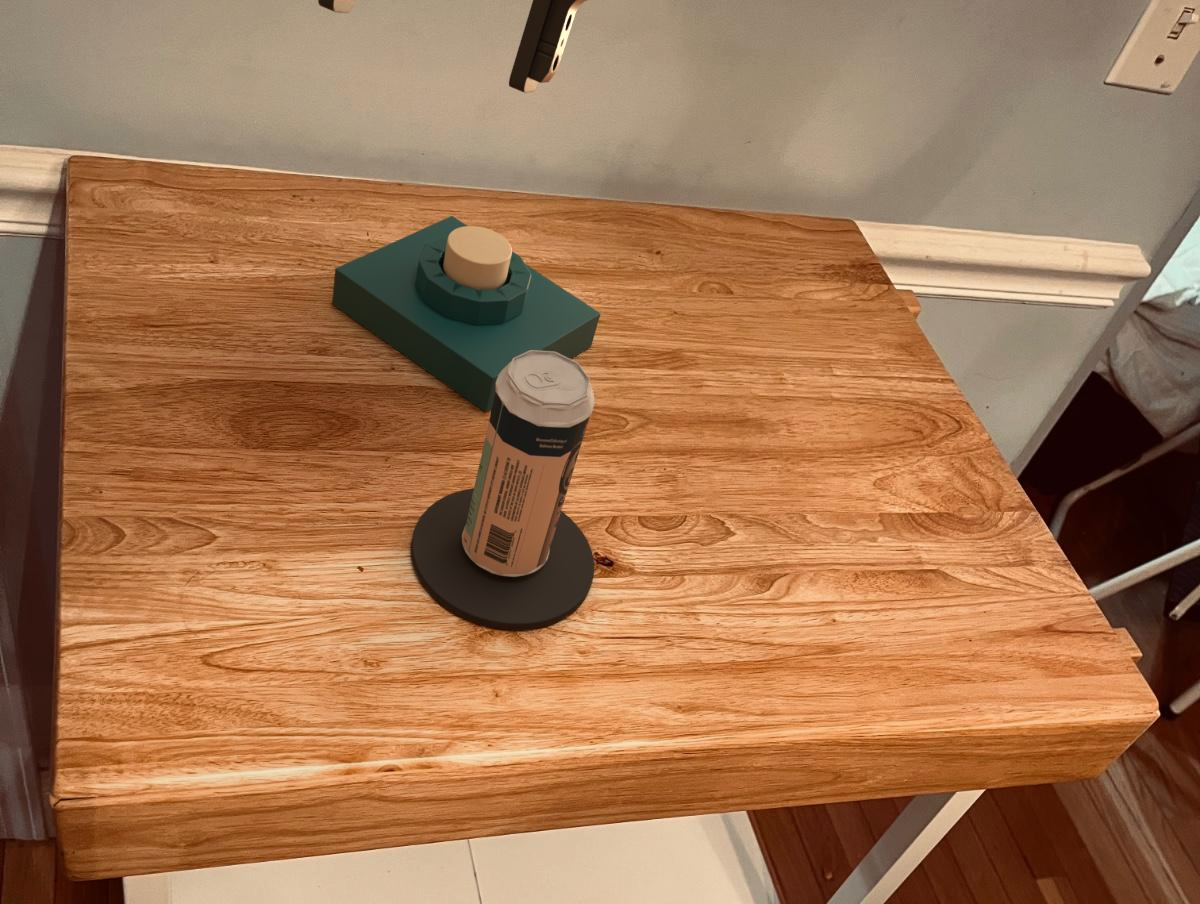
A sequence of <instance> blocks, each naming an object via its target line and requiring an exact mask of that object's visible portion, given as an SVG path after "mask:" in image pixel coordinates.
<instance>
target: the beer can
mask: <svg viewBox="0 0 1200 904" xmlns="http://www.w3.org/2000/svg"><path fill="white" fill-rule="evenodd" d="M591 384H592V383H591V378H590V377H589V375H588V373H586V371H585V370H584V368H583V367H582V366H581V365H580V363H579V362H578V361H575V360H573V359H569V358H567V357H565V356H563V355H561V354H559V353H557V352H551V351H537V350H530V351H528V352H525V353H523V354H521V355H519V356H517V357H515V358H513V359H512V361H511V362H510V363H509V364H508V365H507V366H506V367H505V368H504V369H503V370H502V371H501V372H500V374H499V375H498V378H497V380H496V392H495V397H494V401H493V406H492V409H491V411H490V416H489V419H488V423H487V429H486V432H485V433H486V434H485V438H484V442H483V446H482V450H481V455H480V460H479V463H478V464H479V465H478V469H477V474H476V478H475V482H474V486H473V488H474V491H473V495H472V500H471V504H470V509H469V513H468V518H467V522H466V526H465V528H464V530H463V533H462V544H463V547H464V549H465V552H466V553H467V555H468V556H469V558H470V559H471V560H472V561H473V562H474V563H475V564H477V565H478V566H479V567H481V568H483V569H485V570H487V571H489V572H490V573H493V574H496V575H500V576H510V577H517V576H524V575H528V574H530V573H533V572H535V571H537V570H538V569H540V568H541V567H542V566H543V565H544V564H545V562H546V561H547V559H548V555H549V549H550V546H551V543H552V539H553V536H554V533H555V529H556V526H557V523H558V520H559V516H560V513H561V511H562V510H563V506H564V503H565V500H566V497H567V494H568V489H569V487H570V483H571V480H572V477H573V473H574V470H575V467H576V464H577V461H578V457H579V454H580V450H581V447H582V443H583V442H584V437H585V434H586V431H587V428H588V424H589V420H590V418H591V415H592V413H593V411H594V408H595V403H596V401H595V394H594V391H593V388H592V385H591Z"/></svg>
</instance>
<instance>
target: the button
mask: <svg viewBox="0 0 1200 904" xmlns="http://www.w3.org/2000/svg"><path fill="white" fill-rule="evenodd" d="M512 251H513V248H512V246H511V243H510V242H509V241H508V239H506V238H505V236H503V235H502V234H500V233H499V232H497V231H495V230H492V229H489V228H486V227H483V226H475V225H467V226H465V227H460V228H457V229H455V230H453V231H452V232H451V233H450V234H449V236H448V239H447V245H446V251H445V257H444V263H443V269H444V272H445V274H446V276H447V277H449V278H450V279H452V280H453V281H455V282H456V283H458V284H459V285H462V286H466V287H470V288H473V289H477V290H488V289H498V288H500V287H501V286H502V285H503V284H504V283H505V281H506V278H507V273H508V269H509V264H510V259H511V255H512Z"/></svg>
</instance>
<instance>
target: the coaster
mask: <svg viewBox="0 0 1200 904" xmlns="http://www.w3.org/2000/svg"><path fill="white" fill-rule="evenodd" d="M473 491H474V487H472V488H467V489H463V490H459V491H456V492H452V493H450V494H447V495H446V496H443V497H442V498H439V499H438V500H436V501H435V502H434V503H432V504H431V505H430V506H429V507H428V508H427V509H426V510H425V511H424V512H423V513H422V514H421V516H420V517H419V519H418V520H417V522H416V524H415V527H414V529H413V533H412V538H411V545H410V555H411V563H412V567H413V569H414V572H415V574H416V576H417V578H418V580H419V582H420V583H421V585H422V586H423V588H424V589H425V591H427V593H428V594H429V595H430V596H431V597H432V598H433V599H434V600H435V601H436V602H437V603H438V604H439V605H441V606H442V607H443V608H445V609H446V610H448V611H449V612H451V613H452V614H454V615H456V616H458V617H460V618H462V619H464V620H466V621H468V622H471V623H473V624H477V625H480V626H482V627H487V628H492V629H495V630H503V631H505V630H506V631H527V630H528V631H529V630H536V629H540V628H545V627H548V626H552V625H554V624H558V622H560V621H562V620H564V619H566V618H568V617H569V616H570V615H572V614H573V613H574V612H575V611H576V610H577V609H579V608H580V607H581V606H582V604H583V602H584V601H585V600H586V599H587V596H588V594H589V592H590V590H591V587H592V585H593V581H594V577H595V566H596V565H595V558H594V553H593V550H592V547H591V545H590V543H589V541H588V539H587V537H586V536H585V534H584V532H583V530H581V528H580V527H579V526H578V525H577V523H575V521H574V520H572V518H571V517H570V516H569V515H567V513H565V512H563V511H562V510H561V513H560V516H559V520H558V523H557V526H556V529H555V533H554V536H553V539H552V543H551V546H550V549H549V555H548V559H547V561H546V562H545V564H544V565H543V566H542V567H541V568H540V569H538V570H537V571H535V572H533V573H530V574H528V575H524V576H517V577H510V576H500V575H496V574H493V573H490V572H489V571H487V570H485V569H483V568H481V567H479V566H478V565H477V564H475V563H474V562H473V561H472V560H471V559H470V558H469V556H468V555H467V553H466V552H465V549H464V547H463V544H462V533H463V530H464V528H465V526H466V522H467V518H468V513H469V509H470V504H471V500H472V495H473Z"/></svg>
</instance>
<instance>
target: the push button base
mask: <svg viewBox="0 0 1200 904" xmlns="http://www.w3.org/2000/svg"><path fill="white" fill-rule="evenodd" d="M465 226H468V225H467V224H465V223H464V222H462V221H461V220H459V219H458V218H456V217H455V216H453V215H450V216H448V217H445V218H444V219H442V220H439V221H437V222H435V223H433V224H431V225H429V226H426V227H424V228H422V229H420V230H417V231H415V232H413V233H410V234H407V235H406V236H403V237H402V238H399V239H398V240H395V241H392V242H391V243H389V244H386V245H384V246H381V247H379V248H377V249H375V250H373V251H371V252H368V253H367V254H364V255H362V256H360V257H357V258H354V259H353V260H351V261H348V262H346V263H344V264H342V265H339V266H337V267H335V269H334V279H333V289H332V290H333V291H332V299H331V301H332V302H331V304H332V305H333V306H334V307H335V308H337V309H338V310H340V311H341V312H343V313H344V314H345V315H347V316H348V317H350V318H351V319H353V320H354V321H355V322H357V323H358V324H360V325H361V326H363V328H365V329H367V330H368V331H370V332H371V333H372V334H374V335H375V336H377V337H378V338H379V339H381V341H384V342H385V343H386V344H388V345H389V346H391V347H392V348H394V349H395V350H396V351H398V352H399V353H400V354H402V355H403V356H404V357H406V358H408V359H409V360H411V361H412V362H414V363H415V364H416V365H417V366H419V367H420V368H422V369H423V370H425V371H427V373H429V374H431V376H433V377H435V378H436V379H438V380H439V381H440V382H442V383H443V384H444V385H446V386H447V387H449V388H450V389H451V390H453V391H454V392H456V393H458V394H459V395H460V396H461V397H463V398H465V400H467V401H468V402H470V403H471V404H473V405H474V406H476V407H477V408H478V409H480V410H481V411H483V412H484V413H487V412H489V411H490V410H492V406H493V401H494V397H495V392H496V380H497V378H498V375H499V374H500V372H501V371H502V370H503V369H504V368H505V367H506V366H507V365H508V364H509V363H510V362H511V361H512V359H513V358H515V357H517V356H519V355H521V354H523V353H525V352H528V351H530V350H537V351H551V352H557V353H559V354H561V355H563V356H565V357H567V358H569V359H571V360H573V359H574V358H575V357H576V356H578V355H579V354H581V353H583V352H585V351H586V350H588V349H589V348H591V347H592V345H593V342H594V338H595V335H596V331H597V328H598V324H599V322H600V318H601V312H599V311H598V310H596V309H595V308H593V307H592V306H590V305H589V304H587V303H586V302H584V300H581V299H579V298H578V297H576V296H575V295H574V294H572V293H571V292H569V291H567V290H566V289H564V288H563V287H561V286H560V285H558V284H557V283H555V282H554V281H552V280H551V279H549V278H548V277H546V276H545V275H544V274H542V273H541V272H539V271H537V270H535V269H534V268H532V267H531V266H529V265H528V264H526V263H525V261H524V260H523V258H522V256H520V255H519V254H517V253H516V252H515V251H513V250H512V255H511V259H510V264H509V269H508V273H507V278H506V281H505V283H504V284H503V285H502V286H501V287H500V288H498V289H488V290H477V289H473V288H470V287H466V286H462V285H459V284H458V283H456V282H455V281H453V280H452V279H450V278H449V277H447V276H446V274H445V272H444V269H443V263H444V257H445V251H446V245H447V239H448V236H449V234H450V233H451V232H452V231H453V230H455V229H457V228H460V227H465Z"/></svg>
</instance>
